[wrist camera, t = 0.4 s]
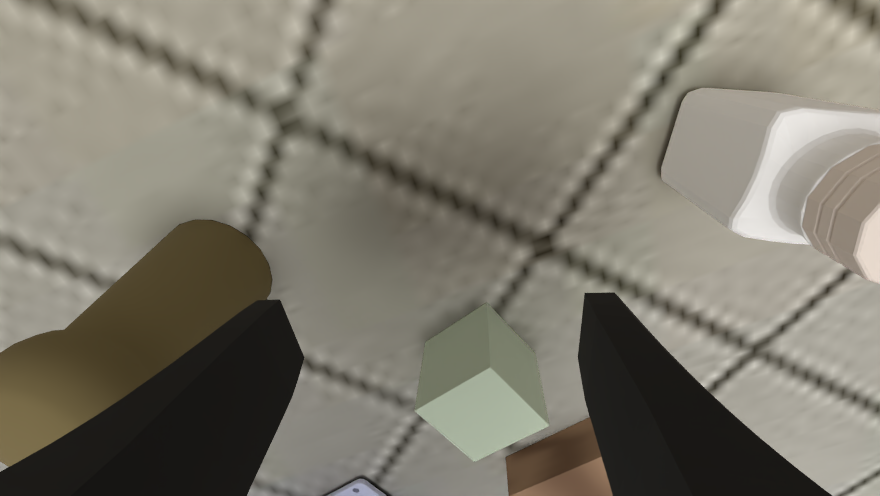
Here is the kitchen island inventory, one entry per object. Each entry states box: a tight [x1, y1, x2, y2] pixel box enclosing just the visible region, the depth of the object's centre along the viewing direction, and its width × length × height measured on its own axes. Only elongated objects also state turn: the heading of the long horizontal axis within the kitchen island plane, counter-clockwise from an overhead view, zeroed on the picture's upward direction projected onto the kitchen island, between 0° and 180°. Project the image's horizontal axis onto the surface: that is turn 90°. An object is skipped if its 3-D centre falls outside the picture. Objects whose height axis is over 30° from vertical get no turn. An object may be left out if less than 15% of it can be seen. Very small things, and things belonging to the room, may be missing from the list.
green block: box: [415, 303, 550, 462], centre depth 21 cm, size 4×4×5 cm
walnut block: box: [506, 417, 613, 496], centre depth 26 cm, size 7×7×3 cm
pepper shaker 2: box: [661, 88, 880, 284], centre depth 13 cm, size 4×4×10 cm
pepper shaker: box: [0, 220, 272, 467], centre depth 17 cm, size 6×6×11 cm
